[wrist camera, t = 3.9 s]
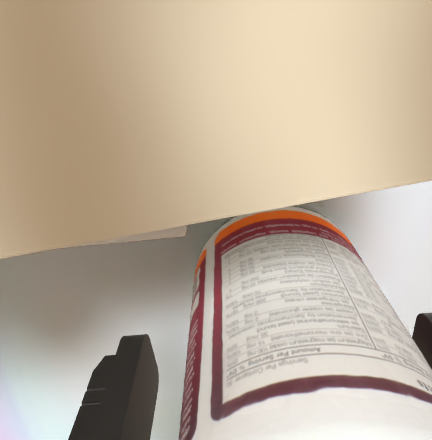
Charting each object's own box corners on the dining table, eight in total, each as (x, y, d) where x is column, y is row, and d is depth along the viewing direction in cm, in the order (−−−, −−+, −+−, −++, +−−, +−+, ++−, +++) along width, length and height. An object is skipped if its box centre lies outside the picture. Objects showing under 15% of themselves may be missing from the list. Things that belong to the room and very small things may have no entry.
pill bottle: (273, 347, 16) (365, 873, 6) (163, 276, 14) (33, 871, 4) (385, 262, 14) (828, 880, 4) (272, 164, 12) (562, 886, 2)
